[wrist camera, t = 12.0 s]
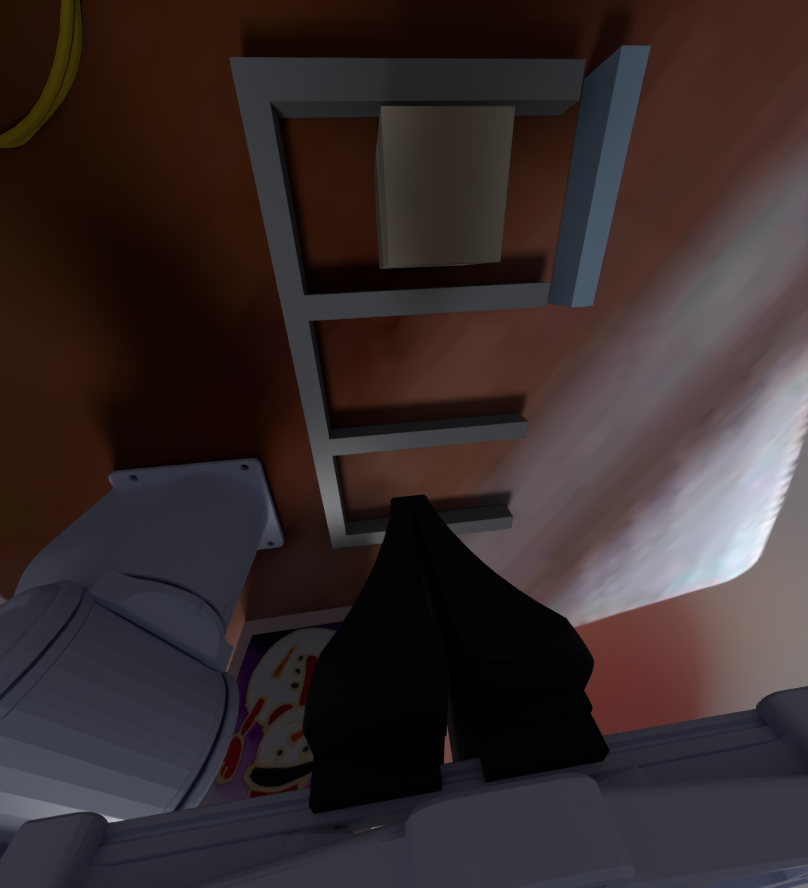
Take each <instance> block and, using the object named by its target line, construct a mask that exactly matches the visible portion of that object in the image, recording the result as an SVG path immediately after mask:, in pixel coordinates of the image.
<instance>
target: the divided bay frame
mask: <svg viewBox="0 0 808 888" xmlns="http://www.w3.org/2000/svg"><path fill="white" fill-rule="evenodd" d="M650 47H651V46H621V47H620V48H619V49H618V50H616V51H615V52H614V53H613V54H612V55H611V56H610V57H609V58H607V59H606V60H605V61H604V62H603V63H602V64H601V65H599V66H598V67H597V68H596V69H595V70H594V71H593V72H592V73H590V74H589V75H588V76H587V77H586V78H585V79H584V84H583V90H582V96H581V102H580V108H579V115H578V121H577V127H576V133H575V140H574V146H573V152H572V158H571V164H570V171H569V177H568V183H567V189H566V196H565V202H564V208H563V214H562V220H561V227H560V233H559V239H558V245H557V251H556V258H555V264H554V270H553V276H552V283H551V289H550V295H549V301H548V304H555V305H561V306H567V307H581V306H593V302H594V297H595V293H596V288H597V284H598V279H599V275H600V270H601V266H602V262H603V257H604V253H605V248H606V244H607V239H608V235H609V230H610V226H611V221H612V217H613V212H614V208H615V203H616V199H617V194H618V190H619V185H620V181H621V176H622V172H623V167H624V163H625V159H626V154H627V150H628V145H629V141H630V136H631V132H632V127H633V123H634V118H635V114H636V109H637V105H638V100H639V96H640V91H641V87H642V82H643V78H644V73H645V69H646V65H647V60H648V56H649V51H650ZM229 59H230V64H231V69H232V73H233V78H234V83H235V88H236V92H237V97H238V102H239V107H240V111H241V116H242V121H243V126H244V130H245V135H246V140H247V145H248V149H249V154H250V159H251V164H252V168H253V173H254V178H255V183H256V187H257V192H258V197H259V202H260V206H261V211H262V216H263V221H264V225H265V230H266V235H267V240H268V244H269V249H270V254H271V259H272V263H273V268H274V273H275V278H276V282H277V287H278V292H279V297H280V301H281V306H282V311H283V316H284V320H285V325H286V330H287V335H288V339H289V344H290V349H291V354H292V358H293V363H294V368H295V373H296V377H297V382H298V387H299V392H300V396H301V401H302V406H303V411H304V415H305V420H306V425H307V430H308V434H309V439H310V444H311V449H312V453H313V458H314V463H315V468H316V472H317V477H318V482H319V487H320V491H321V496H322V501H323V506H324V510H325V515H326V520H327V525H328V529H329V534H330V539H331V544H332V548H333V549H338V548H346V547H355V546H363V545H372V544H380V543H382V542H383V539H384V536H385V533H386V529H387V525H388V521H389V517H388V518H379V519H370V520H361V521H352V522H347V518H346V512H345V506H344V500H343V494H342V488H341V483H340V477H339V471H338V465H337V459H336V455H346V454H357V453H367V452H378V451H389V450H399V449H410V448H421V447H431V446H442V445H452V444H463V443H474V442H484V441H495V440H506V439H516V438H526V432H527V426H528V421H527V420H526V419H525V418H524V417H523V416H521V415H520V414H519V413H510V414H499V415H487V416H476V417H465V418H453V419H442V420H430V421H419V422H407V423H396V424H385V425H373V426H362V427H350V428H339V429H331V424H330V418H329V412H328V406H327V400H326V394H325V388H324V383H323V377H322V371H321V365H320V359H319V353H318V347H317V341H316V336H315V330H314V324H313V321H314V320H331V319H348V318H364V317H381V316H398V315H414V314H431V313H448V312H464V311H481V310H498V309H514V308H531V307H547V300H548V294H549V288H550V282H522V283H504V284H485V285H466V286H447V287H428V288H410V289H391V290H372V291H353V292H335V293H316V294H308V289H307V283H306V277H305V271H304V265H303V259H302V253H301V247H300V241H299V236H298V230H297V224H296V218H295V212H294V206H293V200H292V194H291V189H290V183H289V177H288V171H287V165H286V159H285V153H284V147H283V142H282V136H281V130H280V124H279V118H324V117H380V108H381V106H515V113H514V116H535V115H561V114H563V113H564V112H565V111H566V110H568V109H569V108H570V107H571V106H572V105H574V104H575V103H576V102H577V101H579V100H580V93H581V87H582V81H583V74H584V68H585V62H586V59H455V58H272V57H229ZM437 513H438V514H439V516H440V517H441V518H442V519H443V521H444V522H445V523H446V524H447V526H448V527H449V528H450V529H451V530H452V532H453V533H454V534H455V535H457V534H466V533H474V532H483V531H491V530H500V529H508V528H511V526H512V520H513V516H512V514H511V513H510V511H509V509H508V508H507V506H506V504H505V505H496V506H487V507H478V508H469V509H460V510H451V511H442V512H437Z"/></svg>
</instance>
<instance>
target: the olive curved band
mask: <svg viewBox="0 0 808 888" xmlns="http://www.w3.org/2000/svg"><path fill="white" fill-rule="evenodd" d="M82 30H83V28H82V16H81V4H80V0H61V17H60V32H59V38H58V44H57V50H56V55H55V59H54V63H53V66H52V69H51V72H50V76H49V79H48V81H47V84H46V86H45V88H44V90H43V92H42V94H41V96H40V98H39V100H38V102H37V103H36V104H35V106H34V107H33V109H32V110H31V111H30V113H29V114H28V115H27V117H25V118H24V119H23V120H22V121H21V122H20V123H19V124H18V125H17V126H16V127H15V128H13V129H11V130H9V131H7V132H5V133H4V134H2V135H0V148H13V147H17V146H21V145H23V144H25V143H26V142H28V141H29V140H30V139H31V138H32V136H33V135H34V134H35V133H36V132H37V131H38V130H39V129H40V128H41V127H42V125H43V124H44V123H45V122H46V121H47V120H48V119H49V118H50V117H51V115H52V114H53V113H54V112H55V110H56V109H57V108H58V107H59V105H60V104H61V103H62V101H63V100H64V99H65V97H66V95H67V93H68V91H69V90H70V88H71V86H72V83H73V81H74V78H75V76H76V73H77V71H78V67H79V61H80V56H81V51H82Z"/></svg>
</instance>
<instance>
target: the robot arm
mask: <svg viewBox="0 0 808 888" xmlns="http://www.w3.org/2000/svg"><path fill="white" fill-rule="evenodd" d="M243 464H244V465H247V466H248V467H249V468H245V467H243ZM133 475H134V476H136V477H137V478H135V477H134V476H133ZM109 481H110V482H111V484H112V486H113V487H114V488H113V489H112V490H111V491H110V492H109V493H107V494H106V495H105V496H104V497H103V498H102V499H100V500H99V501H98V502H97V503H96V504H95V505H93V506H92V507H91V508H90V509H89V510H88V511H86V512H85V513H84V514H83V515H82V516H81V517H79V518H78V519H77V520H76V521H75V522H74V523H72V524H71V525H70V526H69V527H68V528H67V529H65V530H64V531H63V532H62V533H61V534H60V535H58V536H57V537H56V538H55V539H54V540H53V541H51V542H50V543H49V544H48V545H47V546H46V547H44V548H43V549H42V550H41V551H40V552H39V553H38V554H37V555H36V556H35V557H34V558H33V560H32V561H31V562H30V564H29V565H28V566H27V568H26V570H25V571H24V573H23V575H22V577H21V579H20V581H19V583H18V586H17V588H16V591H15V595H14V597H13V598H11V599H10V600H8V601H6V602H5V603H4V604H2V605H0V888H791V887H794V886H798V885H802V884H807V883H808V686H806V687H800V688H794V689H789V690H783V691H778V692H774V693H772V694H770V695H768V696H766V697H764V698H763V699H762V700H761V701H760V702H759V703H758V704H757V706H756V709H752V710H747V711H741V712H735V713H730V714H724V715H718V716H713V717H707V718H702V719H696V720H690V721H685V722H679V723H673V724H668V725H662V726H656V727H650V728H645V729H639V730H633V731H628V732H622V733H616V734H611V735H605V736H602V734H601V732H600V730H599V728H598V726H597V724H596V723H595V721H594V719H593V717H592V715H591V713H590V712H591V711H592V709H593V708H592V704H591V703H590V701H589V699H588V697H587V695H586V693H585V691H584V689H585V687H586V685H587V683H588V681H589V678H590V676H591V674H592V671H593V666H594V660H593V657H592V655H591V653H590V651H589V650H588V648H587V646H586V645H585V643H584V642H583V640H582V639H581V637H580V636H579V634H578V633H577V632H576V630H575V629H574V628H573V626H572V625H571V624H570V622H569V621H568V620H567V618H565V617H563V616H562V615H560V614H558V613H556V612H554V611H553V610H551V609H549V608H547V607H546V606H544V605H542V604H540V603H539V602H537V601H535V600H534V599H532V598H531V597H529V596H527V595H526V594H524V593H523V592H521V591H520V590H518V589H517V588H516V587H514V586H513V585H512V584H510V583H509V582H508V581H506V580H505V579H503V578H502V577H501V576H499V575H498V574H497V573H495V572H494V571H493V570H492V569H491V568H489V567H488V566H487V565H486V564H485V563H483V562H482V561H481V560H480V559H479V558H478V557H477V556H476V555H475V554H474V553H473V552H471V551H470V550H469V549H468V548H467V547H466V546H465V545H464V543H463V542H462V541H461V540H460V539H459V538H458V537H457V536H456V535H455V534H454V533H453V532H452V530H451V529H450V528H449V527H448V526H447V524H446V523H445V522H444V521H443V519H442V518H441V517H440V516H439V514H438V513H437V512H436V510H435V509H434V507H433V506H432V504H431V503H430V501H429V500H428V498H427V497H426V496H425V495H414V496H405V497H396V498H392V499H391V509H390V516H389V521H388V525H387V529H386V533H385V536H384V539H383V542H382V545H381V548H380V551H379V554H378V556H377V559H376V561H375V564H374V566H373V568H372V570H371V573H370V575H369V577H368V579H367V581H366V583H365V585H364V587H363V589H362V591H361V592H360V594H359V596H358V598H357V600H356V601H355V603H354V605H353V606H352V608H351V609H350V611H349V613H348V614H347V616H346V617H345V619H344V621H343V622H342V624H341V625H340V627H339V628H338V629H337V631H336V632H335V634H334V635H333V636H332V638H331V639H330V640H329V642H328V643H327V645H326V646H325V647H324V649H323V650H322V651H321V653H320V655H319V658H318V661H317V663H316V666H315V669H314V672H313V675H312V678H311V681H310V685H309V689H308V693H307V697H306V703H305V710H304V718H303V725H302V727H303V734H304V736H305V738H306V741H307V743H308V745H309V747H310V750H311V752H312V754H313V756H314V757H313V767H312V777H311V786H310V788H304V789H298V790H292V791H287V792H281V793H275V794H270V795H264V796H258V797H253V798H247V799H241V800H236V801H230V802H224V803H219V804H213V805H207V806H202V807H197V806H198V805H199V803H200V802H201V800H202V799H203V797H204V796H205V794H206V792H207V791H208V789H209V787H210V786H211V784H212V782H213V781H214V779H215V777H216V775H217V773H218V771H219V769H220V767H221V765H222V763H223V760H224V758H225V756H226V753H227V750H228V748H229V745H230V742H231V739H232V736H233V733H234V729H235V725H236V721H237V716H238V709H239V690H238V686H237V683H236V681H235V679H234V678H233V676H232V675H230V674H229V673H228V672H226V671H225V670H226V668H227V665H228V662H229V659H230V656H231V653H232V650H233V646H232V645H230V644H229V643H228V642H227V641H226V639H225V633H226V631H227V628H228V625H229V623H230V620H231V618H232V615H233V612H234V610H235V607H236V605H237V602H238V599H239V597H240V594H241V591H242V589H243V586H244V584H245V581H246V578H247V576H248V573H249V571H250V568H251V565H252V563H253V560H254V558H255V555H256V552H257V550H259V549H268V548H277V547H281V546H283V544H284V536H283V533H282V530H281V526H280V523H279V520H278V517H277V513H276V510H275V507H274V503H273V500H272V497H271V494H270V490H269V487H268V484H267V481H266V477H265V474H264V471H263V467H262V464H261V462H260V461H259V460H258V459H255V458H247V459H236V460H226V461H215V462H204V463H193V464H183V465H172V466H161V467H150V468H139V469H129V470H118V471H114V472H113V473H111V474H110V475H109ZM269 541H271V542H273V543H271V542H269ZM447 726H448V733H449V739H450V746H451V752H452V759H453V762H451V763H446V764H444V746H445V736H446V733H447ZM383 825H384V826H383ZM377 826H381V827H377ZM372 827H377V828H374V829H371V830H368V831H364V832H361V833H358V834H354V832H353V831H356V830H361V829H367V828H372Z"/></svg>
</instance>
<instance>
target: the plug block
mask: <svg viewBox="0 0 808 888" xmlns="http://www.w3.org/2000/svg"><path fill="white" fill-rule="evenodd" d="M514 113H515V106H381V108H380V118H379V128H378V137H377V147H376V156H375V166H374V187H375V203H376V218H377V234H378V250H379V266H380V269H386V268H412V267H437V266H457V265H468V264H480V263H492V262H500V259H501V249H502V239H503V228H504V218H505V207H506V197H507V186H508V176H509V166H510V155H511V145H512V134H513V124H514Z"/></svg>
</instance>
